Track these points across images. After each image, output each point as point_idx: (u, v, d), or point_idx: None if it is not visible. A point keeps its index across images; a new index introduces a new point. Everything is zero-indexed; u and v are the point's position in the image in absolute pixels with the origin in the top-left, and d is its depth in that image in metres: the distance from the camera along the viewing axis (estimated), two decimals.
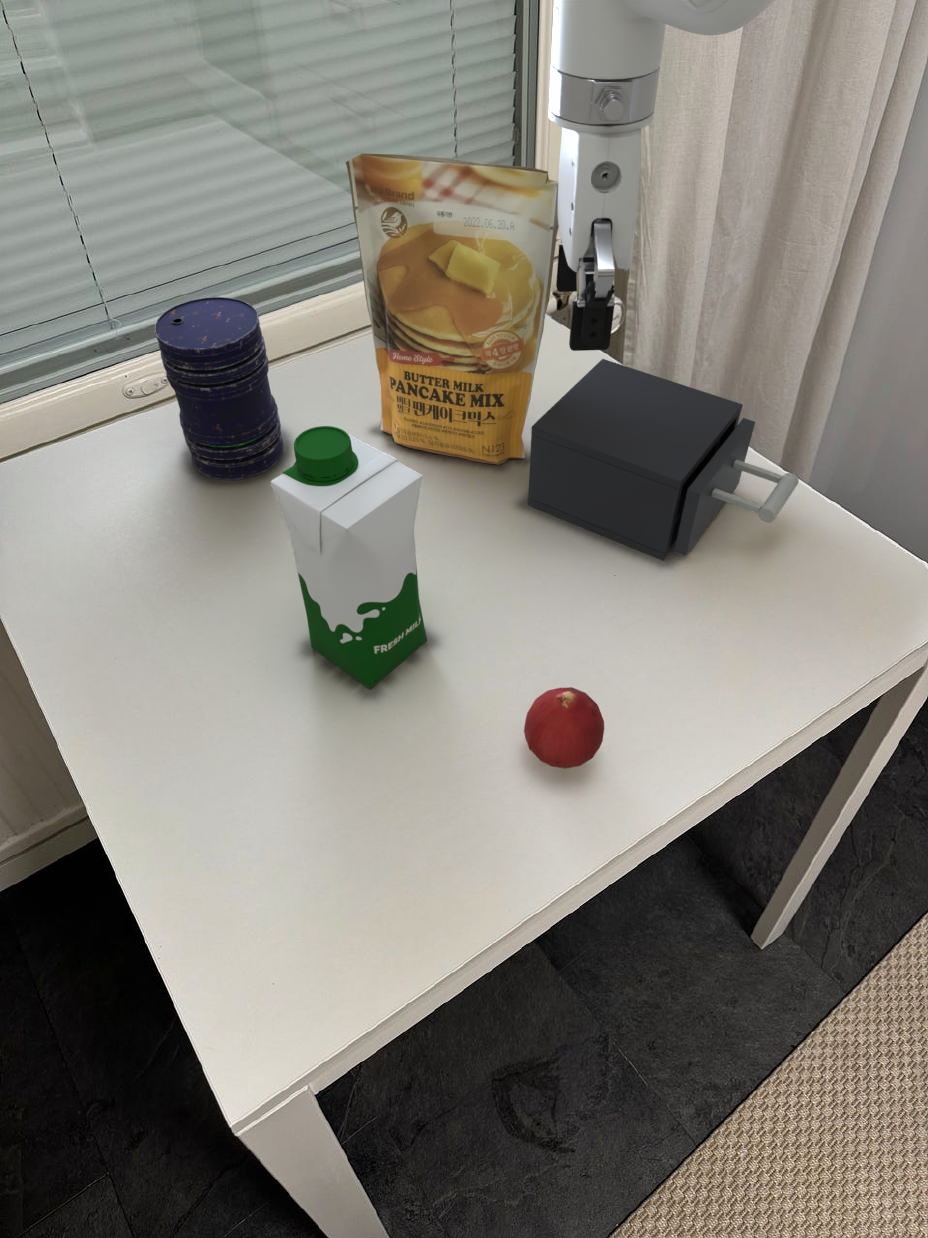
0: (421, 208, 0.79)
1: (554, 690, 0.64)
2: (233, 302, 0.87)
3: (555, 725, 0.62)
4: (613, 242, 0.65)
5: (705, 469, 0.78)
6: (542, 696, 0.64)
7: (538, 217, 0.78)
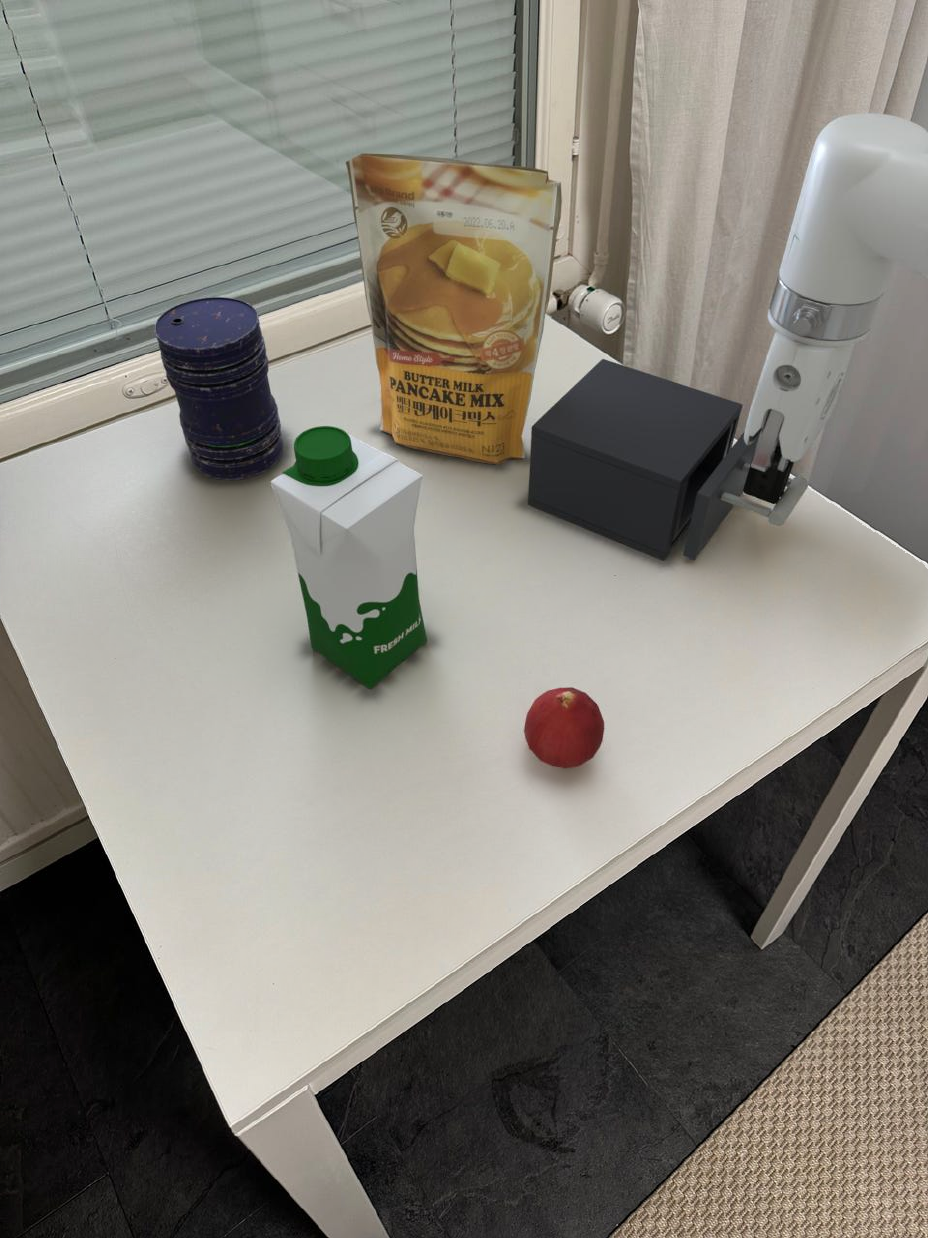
0: (421, 208, 0.79)
1: (554, 690, 0.64)
2: (233, 302, 0.87)
3: (555, 725, 0.62)
4: (781, 434, 0.70)
5: (714, 472, 0.78)
6: (542, 696, 0.64)
7: (538, 217, 0.78)
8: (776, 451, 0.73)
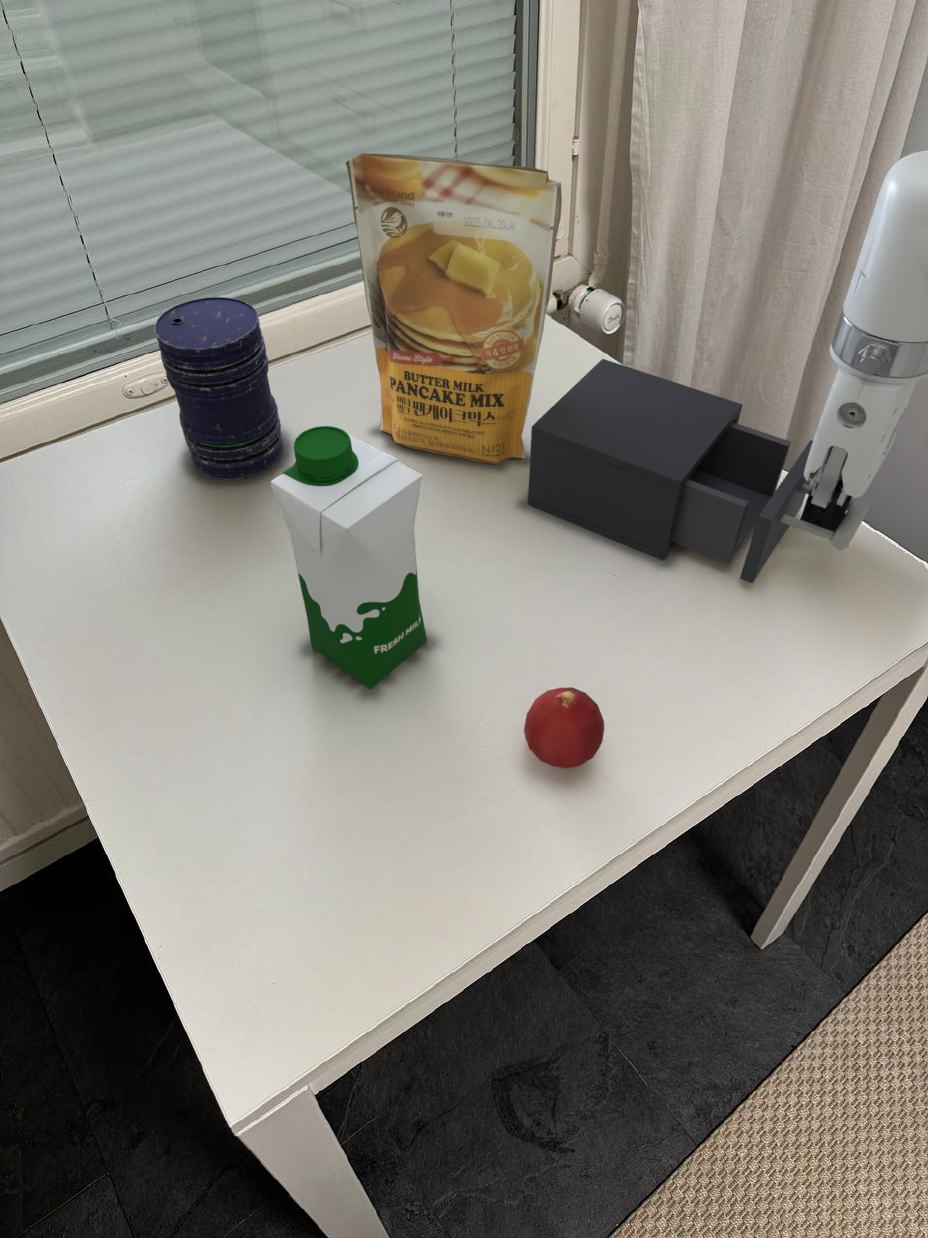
0: (421, 208, 0.79)
1: (554, 690, 0.64)
2: (233, 302, 0.87)
3: (555, 725, 0.62)
4: (844, 471, 0.68)
5: (775, 494, 0.76)
6: (542, 696, 0.64)
7: (538, 217, 0.78)
8: (836, 486, 0.72)
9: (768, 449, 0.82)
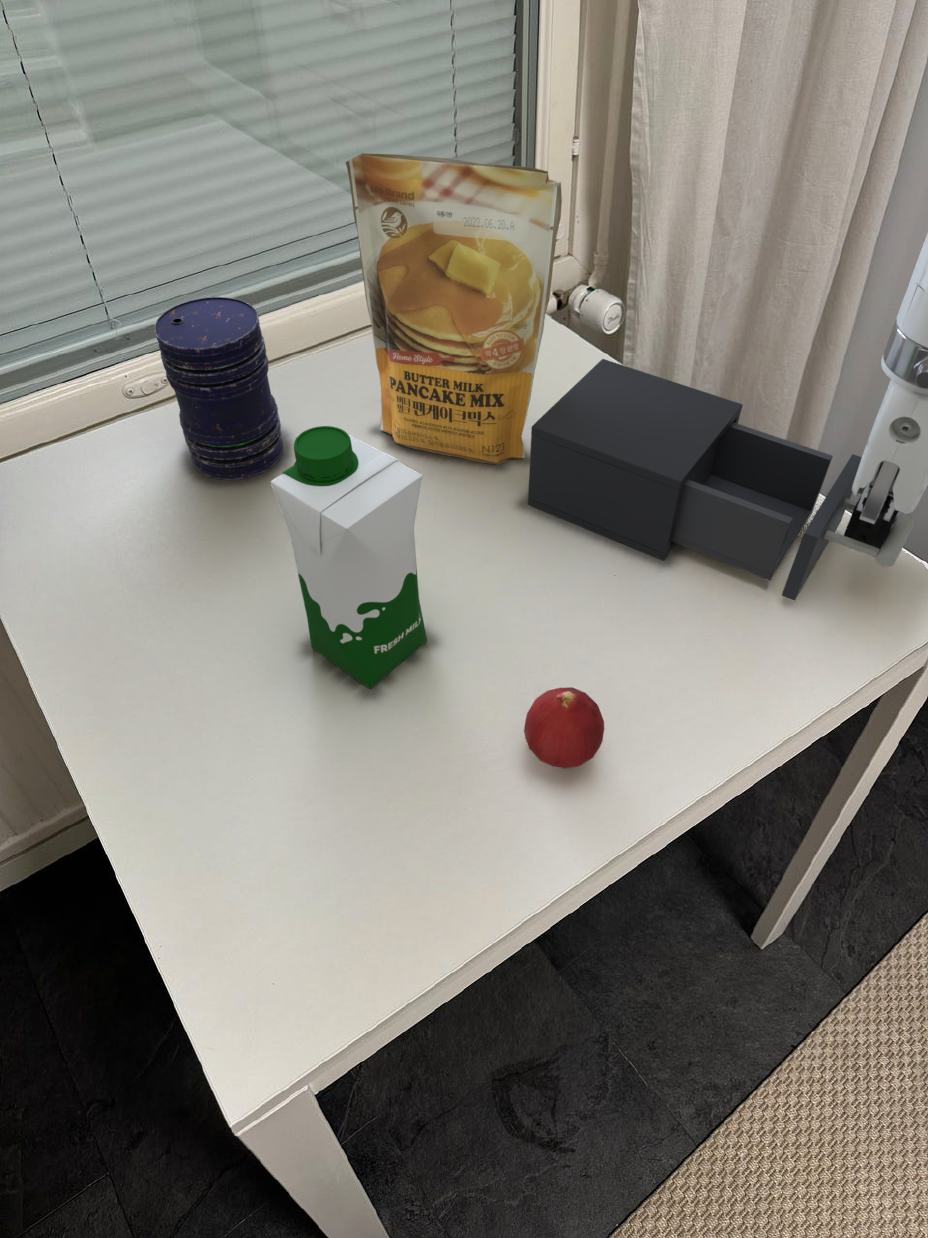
0: (421, 208, 0.79)
1: (554, 690, 0.64)
2: (233, 302, 0.87)
3: (555, 725, 0.62)
4: (896, 486, 0.67)
5: (820, 511, 0.74)
6: (542, 696, 0.64)
7: (538, 217, 0.78)
8: (884, 502, 0.71)
9: (809, 463, 0.81)
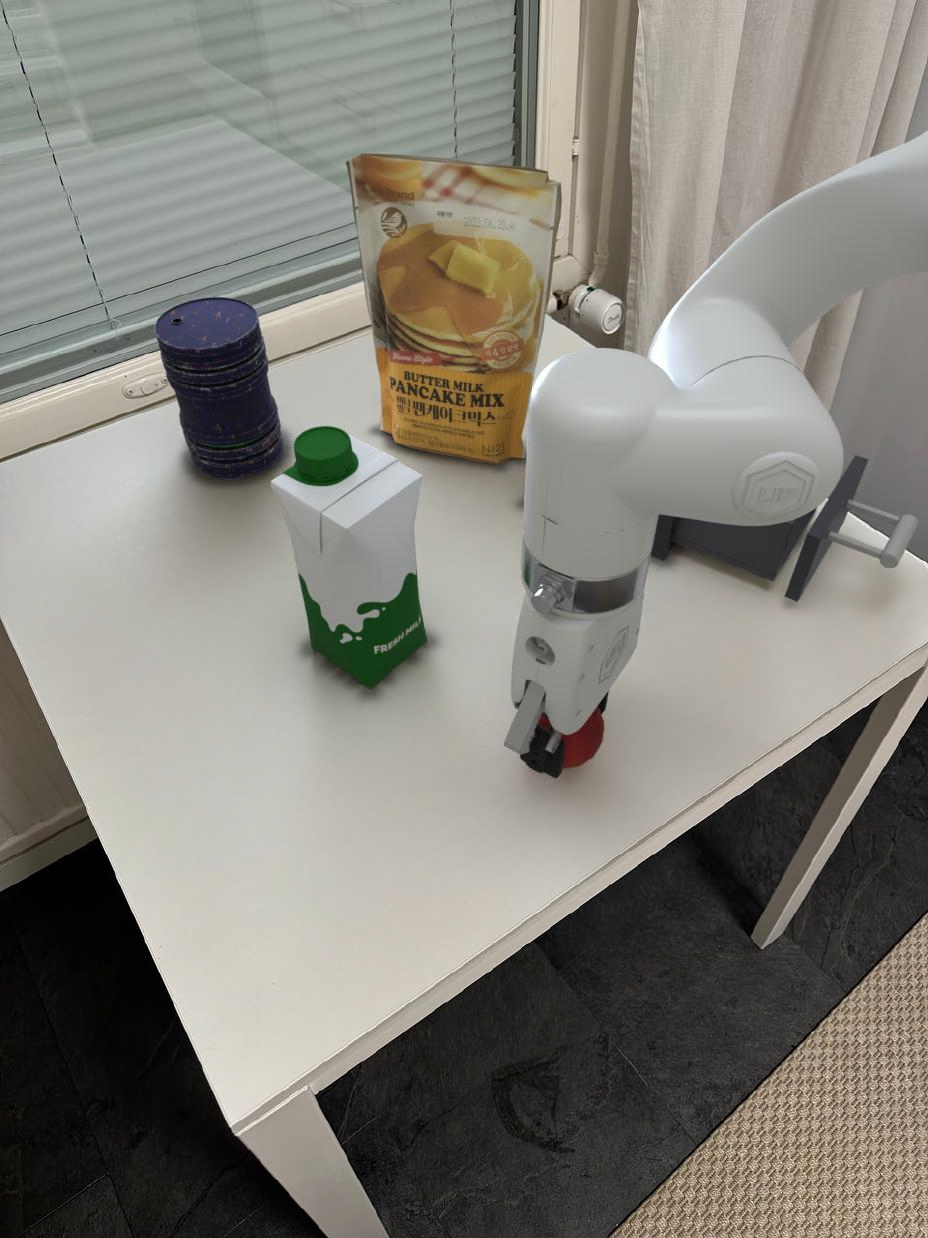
0: (421, 208, 0.79)
1: None
2: (233, 302, 0.87)
3: None
4: (547, 708, 0.56)
5: (823, 512, 0.74)
6: None
7: (538, 217, 0.78)
8: (535, 737, 0.58)
9: None
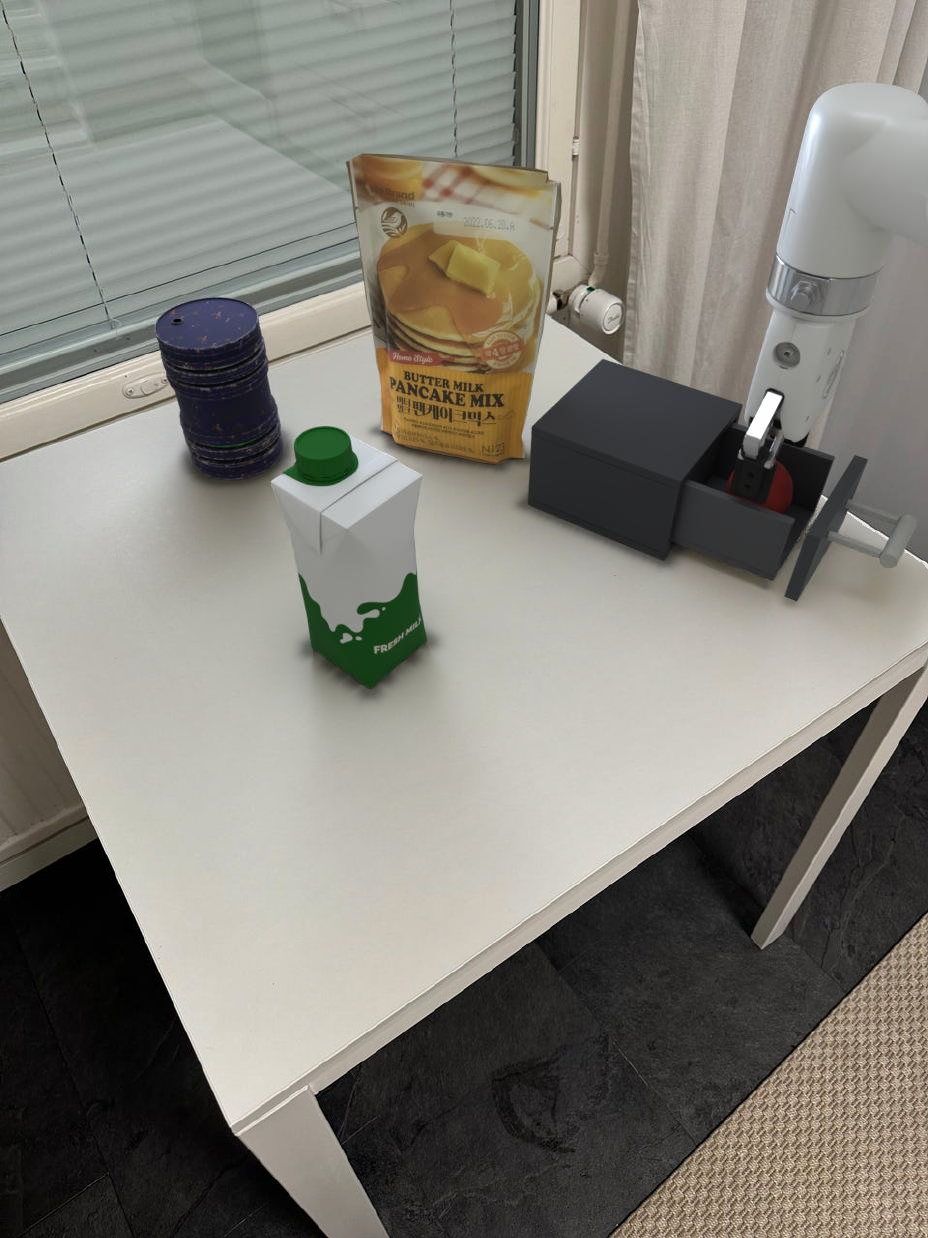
0: (421, 208, 0.79)
1: None
2: (233, 302, 0.87)
3: None
4: (782, 413, 0.68)
5: (822, 511, 0.74)
6: None
7: (538, 217, 0.78)
8: (761, 447, 0.69)
9: (811, 464, 0.81)
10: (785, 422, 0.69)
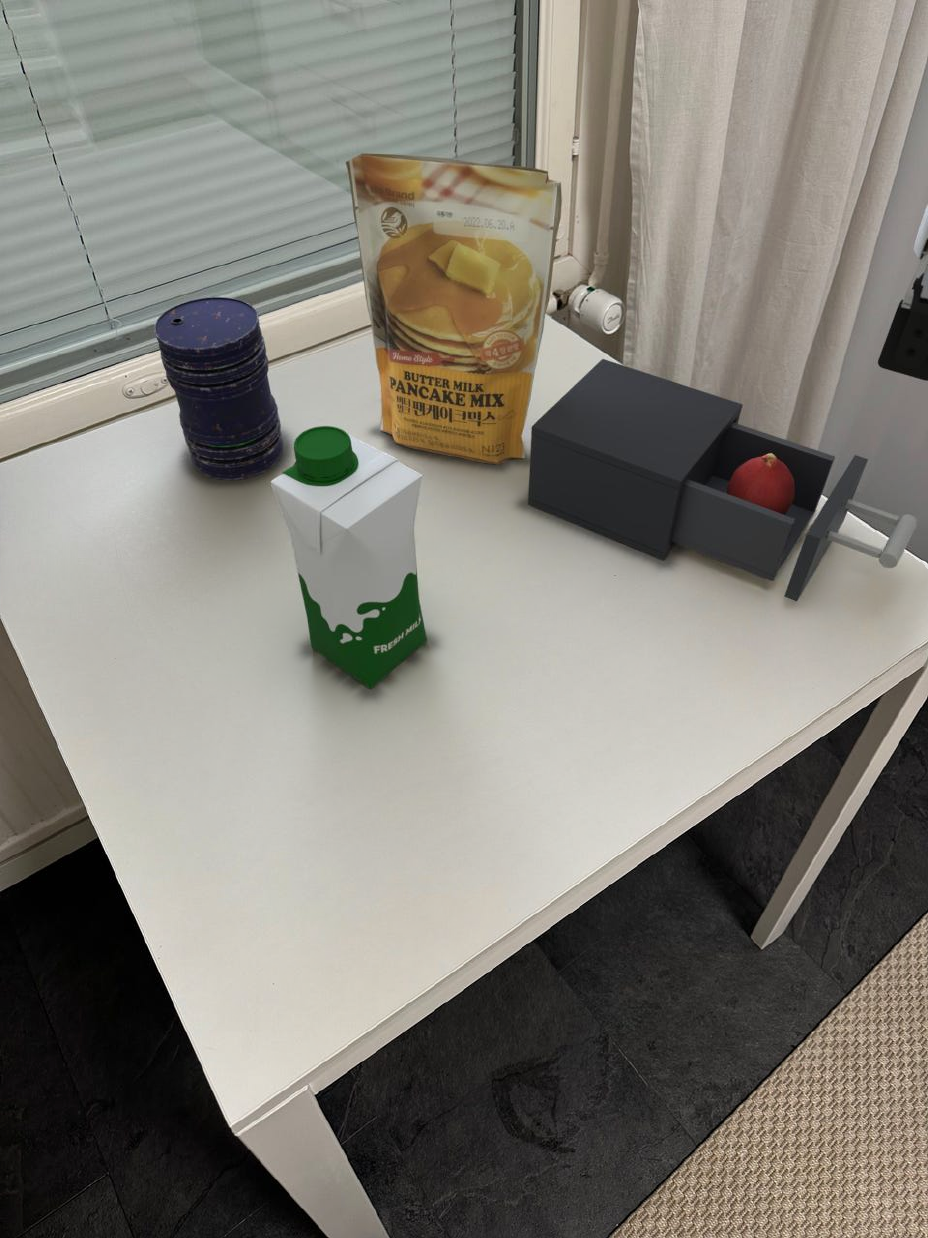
0: (421, 208, 0.79)
1: (755, 458, 0.79)
2: (233, 302, 0.87)
3: (760, 481, 0.77)
4: None
5: (822, 511, 0.74)
6: (744, 463, 0.79)
7: (538, 217, 0.78)
8: None
9: (811, 464, 0.81)
10: None
